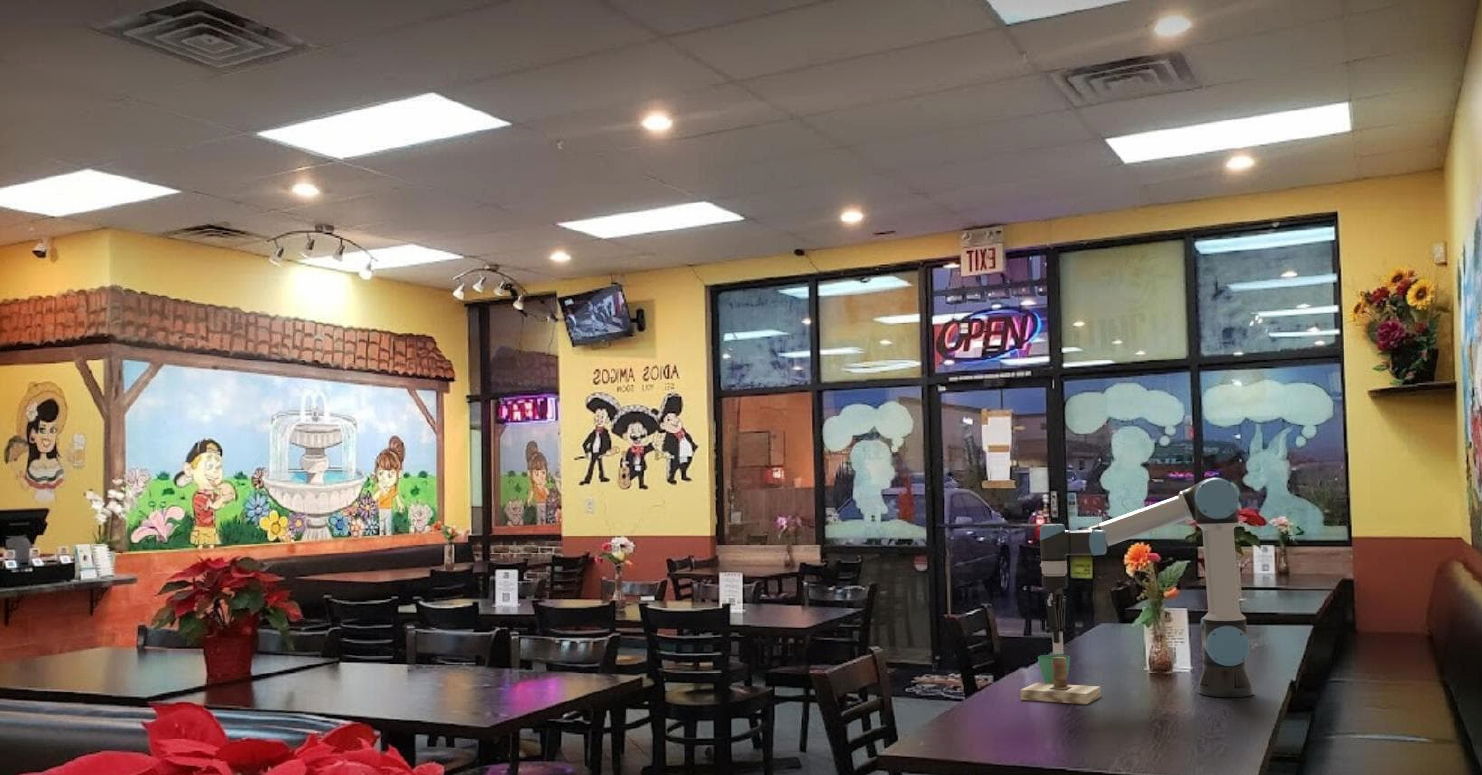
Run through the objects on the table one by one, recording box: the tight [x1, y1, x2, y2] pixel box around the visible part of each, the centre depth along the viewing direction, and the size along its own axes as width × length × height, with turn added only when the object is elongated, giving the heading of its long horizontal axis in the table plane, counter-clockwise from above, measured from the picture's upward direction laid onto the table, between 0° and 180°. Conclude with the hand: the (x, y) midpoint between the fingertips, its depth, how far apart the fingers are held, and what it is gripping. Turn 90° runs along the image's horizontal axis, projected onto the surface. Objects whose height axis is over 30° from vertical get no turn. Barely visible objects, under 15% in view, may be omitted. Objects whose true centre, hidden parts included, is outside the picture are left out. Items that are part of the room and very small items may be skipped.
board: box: [1020, 682, 1102, 705], centre depth 362 cm, size 20×14×3 cm
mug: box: [1037, 654, 1071, 684], centre depth 381 cm, size 15×10×10 cm
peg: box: [1052, 657, 1068, 690], centre depth 363 cm, size 4×4×12 cm
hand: (1058, 653), depth 363 cm, fingers closed
